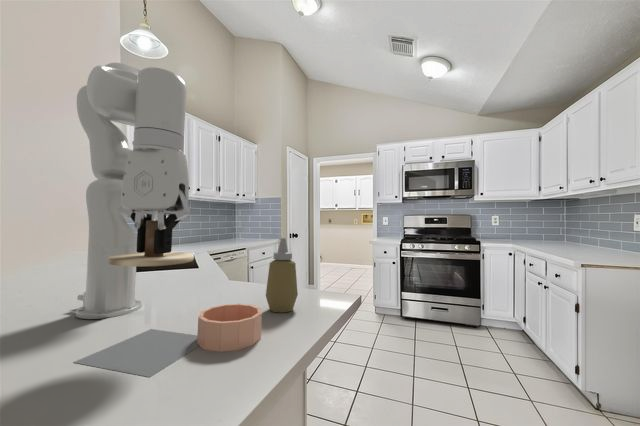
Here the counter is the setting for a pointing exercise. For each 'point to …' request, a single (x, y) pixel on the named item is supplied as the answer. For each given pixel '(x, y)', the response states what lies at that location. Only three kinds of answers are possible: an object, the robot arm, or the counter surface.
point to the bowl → (229, 327)
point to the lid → (150, 253)
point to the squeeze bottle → (282, 281)
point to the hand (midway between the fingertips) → (154, 251)
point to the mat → (143, 353)
